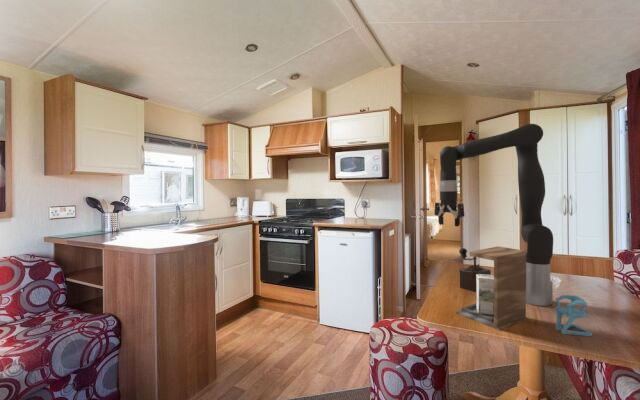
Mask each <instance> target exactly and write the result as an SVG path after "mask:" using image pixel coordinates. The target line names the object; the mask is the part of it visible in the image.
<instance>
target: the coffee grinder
mask: <svg viewBox="0 0 640 400" xmlns="http://www.w3.org/2000/svg"><path fill="white" fill-rule="evenodd" d="M467 253H468V250H467V248H465V247H464V248H460V249H459V254H460V255H461V258H462V261H473V264H471V265H469V266H466V267H462V268H460V269H459V288H460V289H463V290H466V291H469V292H473V293H476V274H485V275H492V270H491V269H488V268H485V267H482V266H480V264H479V263H477V258H478V257H474V256H472V257H473V258H472V257H471V258H468V255H467Z"/></svg>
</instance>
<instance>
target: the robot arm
mask: <svg viewBox="0 0 640 400" xmlns="http://www.w3.org/2000/svg"><path fill="white" fill-rule="evenodd" d="M543 137H544V129H543V128H542V127H541V126H540V125H539V124H536V123H526V124H524V125H522V126H519V127H518V128H515V129H513V130H510V131H507V132H503V133H500V134H497V135H492V136H487V137H484V138H483V137H482V138H479V139H474V140H470V141H467V142H464V143H462V144H460V145H455V146H454V145H453V146H450V145H449V146H448V145H447V146H444V147H442V148H441V150H440V152H439V163H440V172H439V173H440V174H439V176H440V179H439V202H434V215H435V216H437V218H438V221H437V223H438V224H439V225H440V226H443V225H444V215H445V214H446V213H448V214H449V213H450V214H451V215H453V217H454V227H460V225H461V218H464V217H465V209H464V208H465V206H464V203H463V202H462V203H458V198H459V197H458V179H457V178H458V177H457V176H458V174H457V162H458V161H460V160H463V159H469V158H474V157H477V156H478V157H479V156H482V155H485V154H489V153H492V152H493V153H494V152H496V151H499V150H503V149H507V148H512V147H515V151H516V155H517V182H518V194H519V202H520V211H521V212H520V213H521V223H520V224H521V225H520V235H521V237H522V240H523V241H524V242H525V243H526V246H527V247H526V248H527V249H526V304H530V305H532V306H539V307H547V306H550V305H553V302H554V301H553V291H554V289H553V287H554V286H553V281H552V280H551V259H552V258H553V253H554V235H553V232H552V230H551V229H550V228H549V227H547V226H546V225H543V219H542V208H543V204H544V200H545V198H546V181H545V175H544V172H543V169H542V168H543V167H542V166H541V164H540V161H539V156H538V143H539V142H540V141H542V139H543Z"/></svg>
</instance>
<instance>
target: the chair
mask: <svg viewBox="0 0 640 400" xmlns="http://www.w3.org/2000/svg"><path fill="white" fill-rule="evenodd" d="M564 299H568V300H569V301H571V302H569V303H567V304H566V305H567V306H566V307H565V306H563V307H562V305H561V302H560V301H561V300H564ZM555 300H556V303H557V304H556V305H557V306H554V311H556V321H555V330H556V331H560V333H561V334H564V335H565V334H566V335H574V336H575V335H576V336H584V337H593V333H592V332H590V331H588V330H587V329H585V328H583V327H581V326H580V325H577V324H576V323H574V321H576V320H578V319H580V318H589V313H586V308H587V305H588V303H587V301H585V299H584V298H583V297H580V296H578V295H569V294H565V295H560V296H558V297H556V298H555ZM576 305H577V306H578V305H580V306H583V307H582V308H581V310H580V309H578V308H576V307H575V306H576ZM563 315H564V316H565V317H568V319H567V321H566V323H565V324H563V325H562V317H563ZM570 328H575V329H577V330H570ZM578 330H579V331H578Z"/></svg>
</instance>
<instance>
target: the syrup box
mask: <svg viewBox="0 0 640 400" xmlns="http://www.w3.org/2000/svg"><path fill="white" fill-rule="evenodd" d="M475 294H476V296H475V297H476V298H475V299H476V300H475V304H476V308H477V311H478V313H480V314H485V315H494V275H492V274H491V275H485V274H476V292H475Z"/></svg>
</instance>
